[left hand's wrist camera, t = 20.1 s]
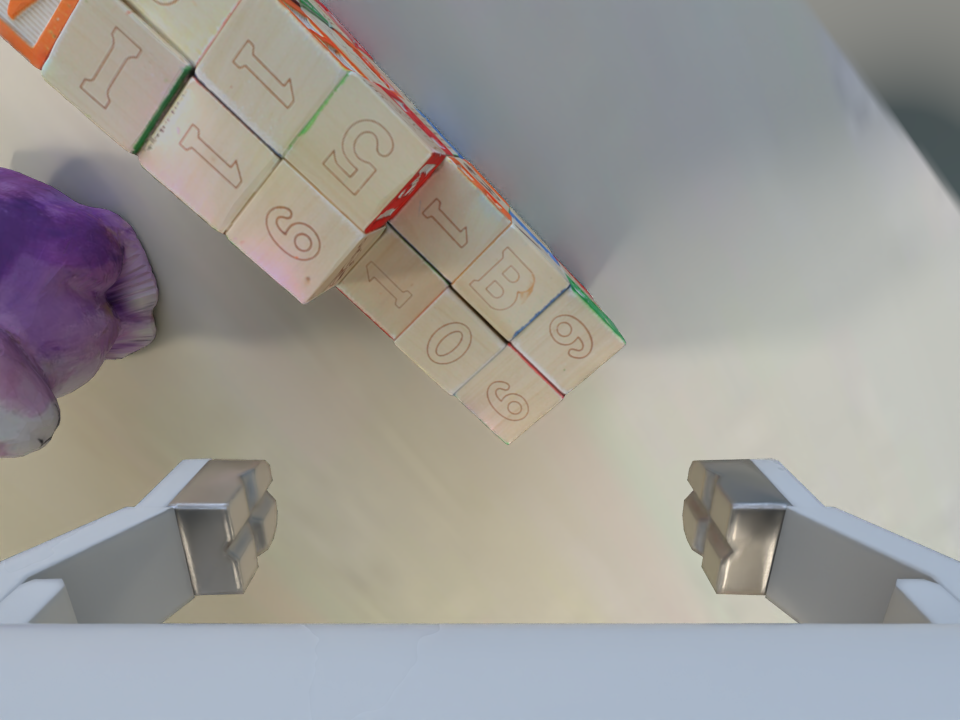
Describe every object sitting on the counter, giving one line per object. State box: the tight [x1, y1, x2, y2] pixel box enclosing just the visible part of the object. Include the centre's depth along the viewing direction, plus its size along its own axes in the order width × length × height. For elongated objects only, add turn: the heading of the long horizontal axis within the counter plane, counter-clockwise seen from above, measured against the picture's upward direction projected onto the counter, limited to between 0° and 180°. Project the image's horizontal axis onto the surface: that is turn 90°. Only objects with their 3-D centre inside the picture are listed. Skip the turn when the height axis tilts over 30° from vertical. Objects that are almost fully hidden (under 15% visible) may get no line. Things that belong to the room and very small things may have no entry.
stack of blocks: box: [0, 0, 626, 445], centre depth 21 cm, size 21×6×12 cm, turn 45°
